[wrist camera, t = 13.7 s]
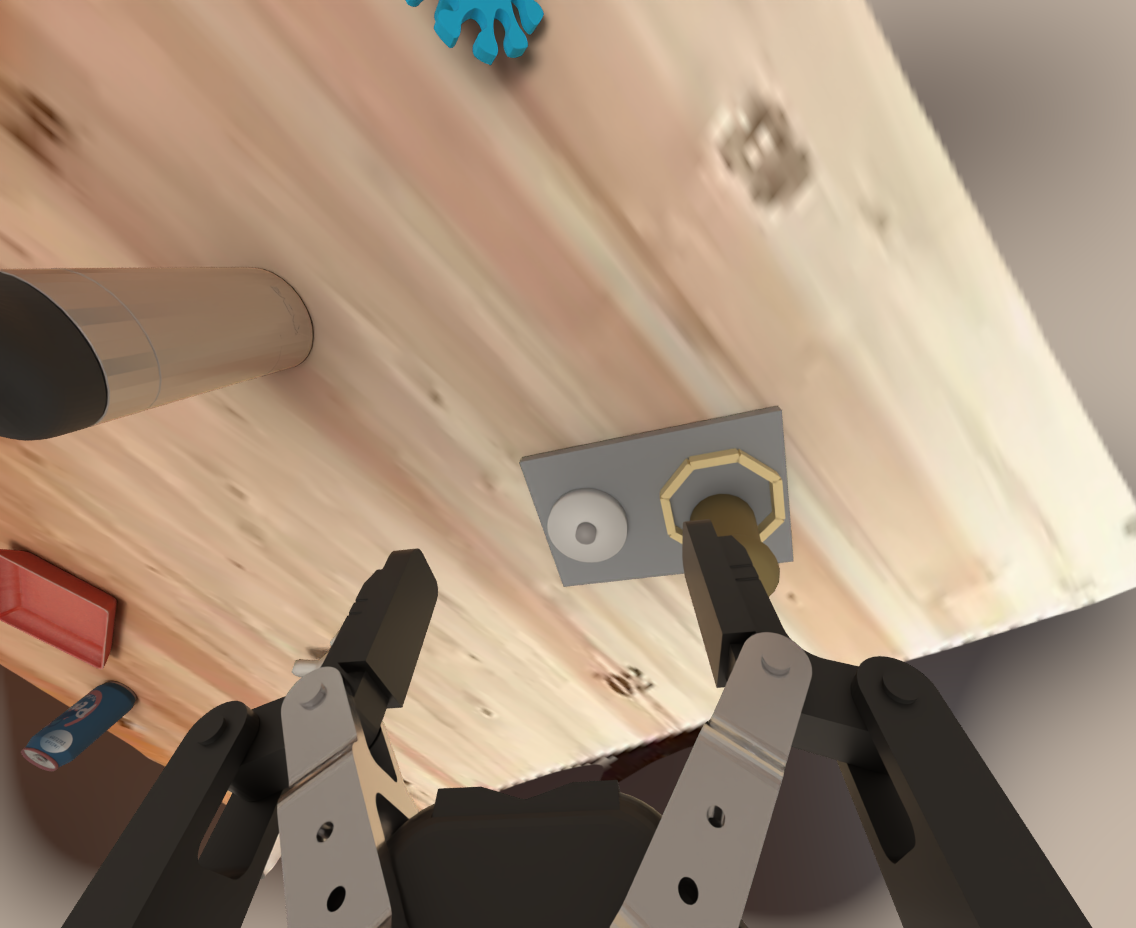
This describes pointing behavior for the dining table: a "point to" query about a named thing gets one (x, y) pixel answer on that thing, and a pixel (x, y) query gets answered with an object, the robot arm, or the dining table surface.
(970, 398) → the dining table surface
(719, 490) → the board
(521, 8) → the blue irregular piece
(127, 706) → the soda can
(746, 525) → the cork
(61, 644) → the plant saucer
